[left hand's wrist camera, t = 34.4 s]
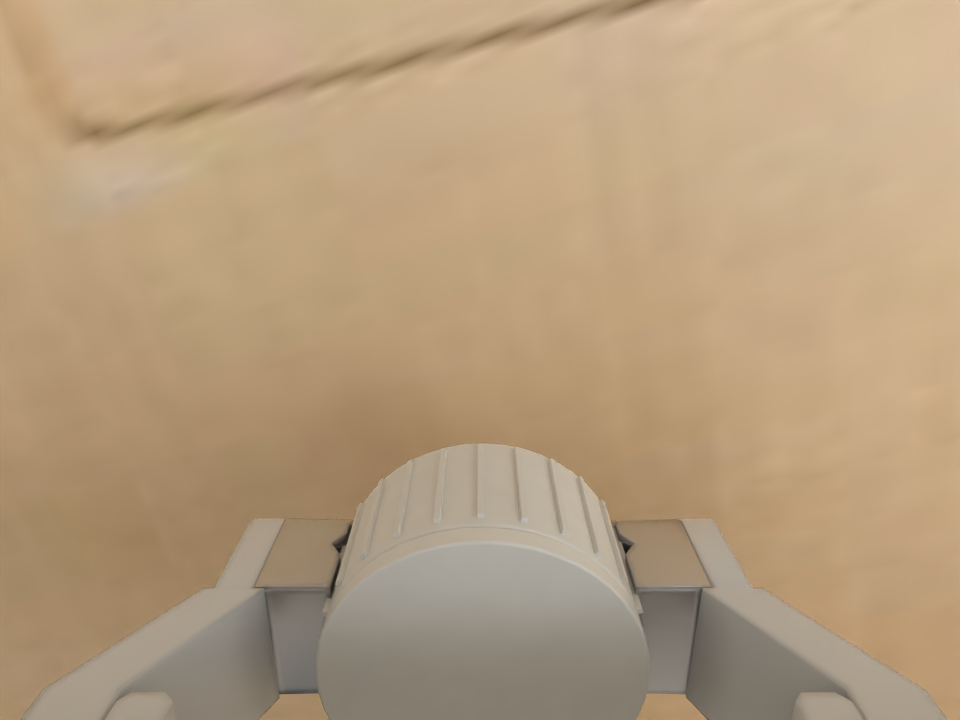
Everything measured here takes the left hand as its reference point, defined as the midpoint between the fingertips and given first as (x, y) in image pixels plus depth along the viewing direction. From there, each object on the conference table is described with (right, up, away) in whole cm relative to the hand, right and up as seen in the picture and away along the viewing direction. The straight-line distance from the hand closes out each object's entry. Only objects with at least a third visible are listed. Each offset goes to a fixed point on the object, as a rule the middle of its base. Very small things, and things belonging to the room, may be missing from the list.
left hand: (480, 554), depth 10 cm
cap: (0, -1, -2) cm, 2 cm away
